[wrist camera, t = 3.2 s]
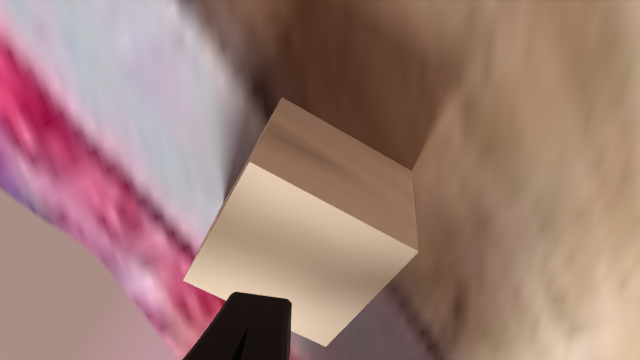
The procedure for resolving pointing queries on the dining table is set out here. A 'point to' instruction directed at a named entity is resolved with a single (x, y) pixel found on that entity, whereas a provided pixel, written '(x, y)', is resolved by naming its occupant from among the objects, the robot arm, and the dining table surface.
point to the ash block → (310, 224)
